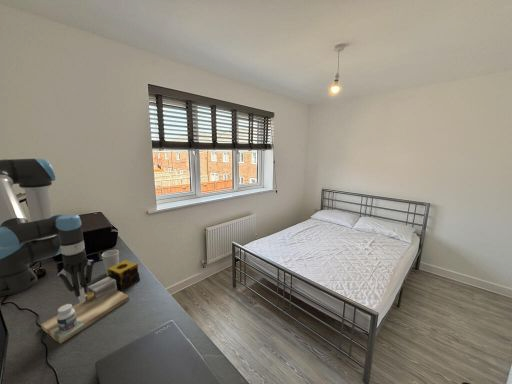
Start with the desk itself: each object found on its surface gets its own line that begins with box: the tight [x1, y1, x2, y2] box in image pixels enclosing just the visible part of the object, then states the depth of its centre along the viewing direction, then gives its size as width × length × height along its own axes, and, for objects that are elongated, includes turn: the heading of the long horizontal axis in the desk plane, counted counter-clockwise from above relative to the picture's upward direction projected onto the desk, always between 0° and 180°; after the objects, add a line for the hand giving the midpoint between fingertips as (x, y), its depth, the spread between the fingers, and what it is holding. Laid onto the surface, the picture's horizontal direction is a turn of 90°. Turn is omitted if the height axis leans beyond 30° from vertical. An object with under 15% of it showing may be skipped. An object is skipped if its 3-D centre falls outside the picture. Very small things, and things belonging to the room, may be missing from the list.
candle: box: [108, 259, 141, 291], centre depth 111 cm, size 10×10×10 cm
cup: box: [101, 249, 120, 276], centre depth 120 cm, size 8×8×12 cm
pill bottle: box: [56, 303, 77, 333], centre depth 80 cm, size 5×5×9 cm
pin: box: [85, 291, 95, 302], centre depth 97 cm, size 3×8×3 cm, turn 154°
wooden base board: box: [40, 276, 130, 345], centre depth 91 cm, size 16×26×8 cm, turn 154°
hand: (82, 300), depth 93 cm, fingers closed
